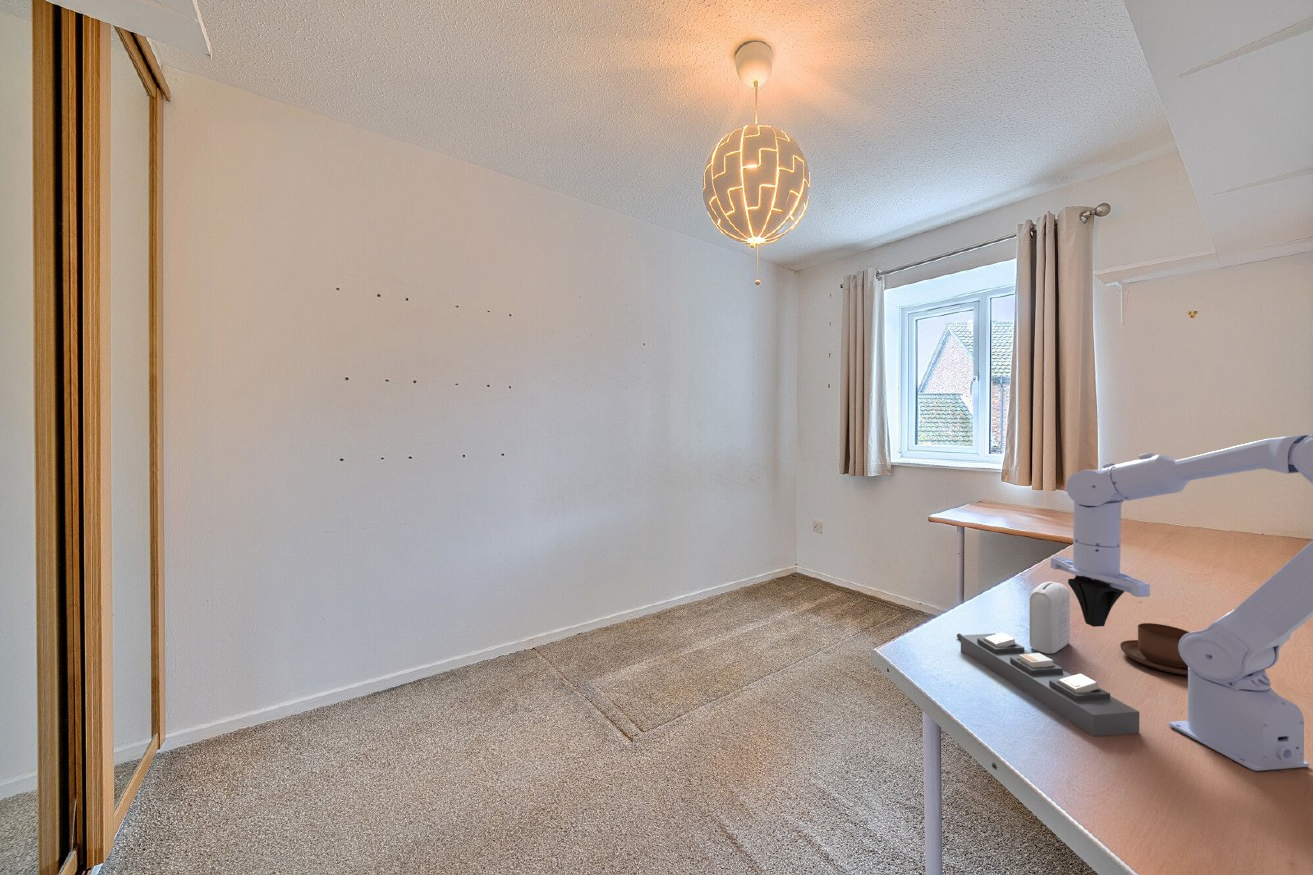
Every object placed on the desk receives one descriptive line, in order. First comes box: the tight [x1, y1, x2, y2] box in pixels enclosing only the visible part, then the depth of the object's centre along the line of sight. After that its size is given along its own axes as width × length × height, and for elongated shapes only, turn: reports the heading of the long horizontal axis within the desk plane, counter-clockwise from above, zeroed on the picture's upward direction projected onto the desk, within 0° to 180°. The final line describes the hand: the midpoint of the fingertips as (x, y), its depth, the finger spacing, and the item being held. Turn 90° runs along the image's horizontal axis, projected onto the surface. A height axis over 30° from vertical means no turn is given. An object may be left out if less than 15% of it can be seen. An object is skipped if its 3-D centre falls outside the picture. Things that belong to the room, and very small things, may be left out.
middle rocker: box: [1019, 652, 1054, 668], centre depth 80 cm, size 3×4×1 cm
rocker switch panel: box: [956, 632, 1140, 737], centre depth 83 cm, size 32×7×4 cm, turn 5°
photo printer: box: [1029, 581, 1071, 655], centre depth 94 cm, size 10×4×12 cm, turn 123°
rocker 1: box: [985, 632, 1016, 647], centre depth 88 cm, size 3×4×1 cm
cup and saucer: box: [1119, 622, 1190, 676], centre depth 86 cm, size 12×12×6 cm
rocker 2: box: [1059, 673, 1099, 693], centre depth 73 cm, size 3×4×1 cm
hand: (1094, 624), depth 79 cm, fingers closed
